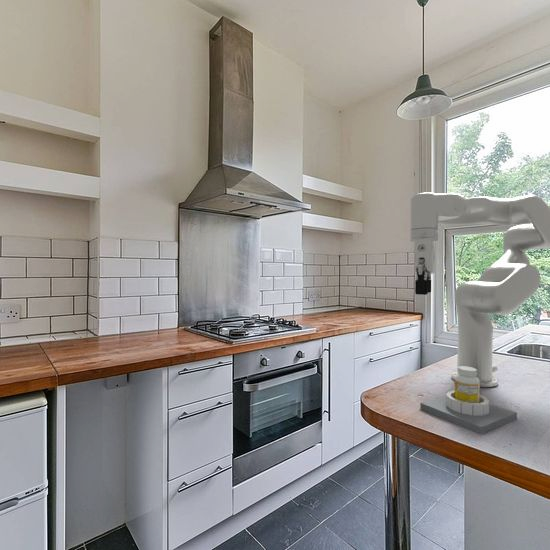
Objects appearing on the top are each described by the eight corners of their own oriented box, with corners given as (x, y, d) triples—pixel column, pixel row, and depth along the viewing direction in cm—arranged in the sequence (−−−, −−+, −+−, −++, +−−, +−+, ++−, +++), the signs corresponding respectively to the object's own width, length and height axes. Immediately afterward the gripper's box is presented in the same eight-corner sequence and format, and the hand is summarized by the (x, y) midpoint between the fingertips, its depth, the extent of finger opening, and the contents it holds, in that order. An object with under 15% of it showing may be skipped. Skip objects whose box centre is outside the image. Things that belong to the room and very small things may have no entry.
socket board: (455, 397, 92) (456, 383, 92) (516, 418, 79) (517, 402, 79) (420, 408, 85) (420, 392, 85) (481, 434, 72) (481, 415, 72)
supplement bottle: (473, 413, 78) (474, 373, 78) (450, 406, 83) (450, 367, 82) (483, 407, 82) (483, 369, 81) (460, 401, 86) (460, 364, 86)
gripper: (435, 232, 89) (434, 295, 90) (440, 237, 104) (439, 292, 105) (405, 233, 93) (405, 294, 93) (414, 238, 108) (414, 291, 108)
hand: (423, 293), depth 99 cm, fingers open, 9 cm apart
